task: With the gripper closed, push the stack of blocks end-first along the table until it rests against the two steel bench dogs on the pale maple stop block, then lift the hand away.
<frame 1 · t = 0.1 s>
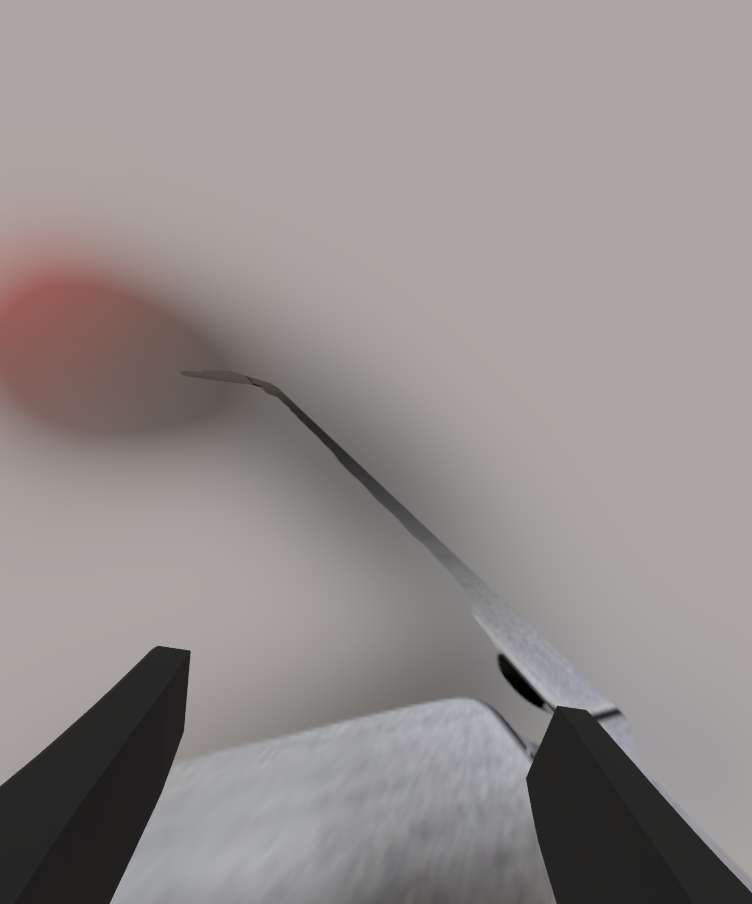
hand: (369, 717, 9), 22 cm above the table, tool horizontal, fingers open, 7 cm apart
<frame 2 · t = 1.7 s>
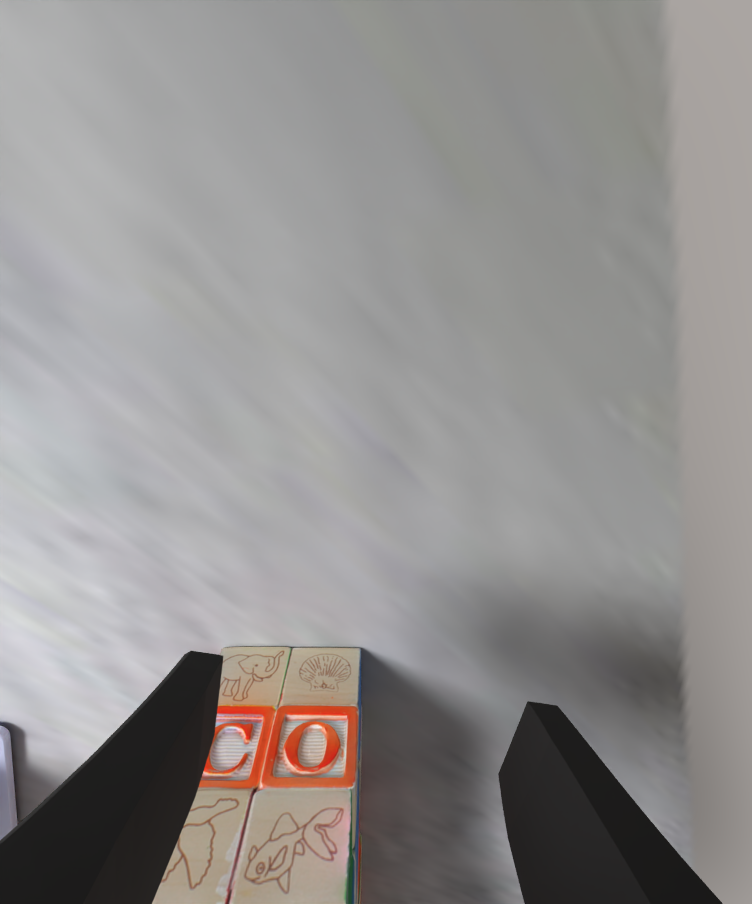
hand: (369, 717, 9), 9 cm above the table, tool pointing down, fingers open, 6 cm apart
stack of blocks: (301, 806, 24), on the table
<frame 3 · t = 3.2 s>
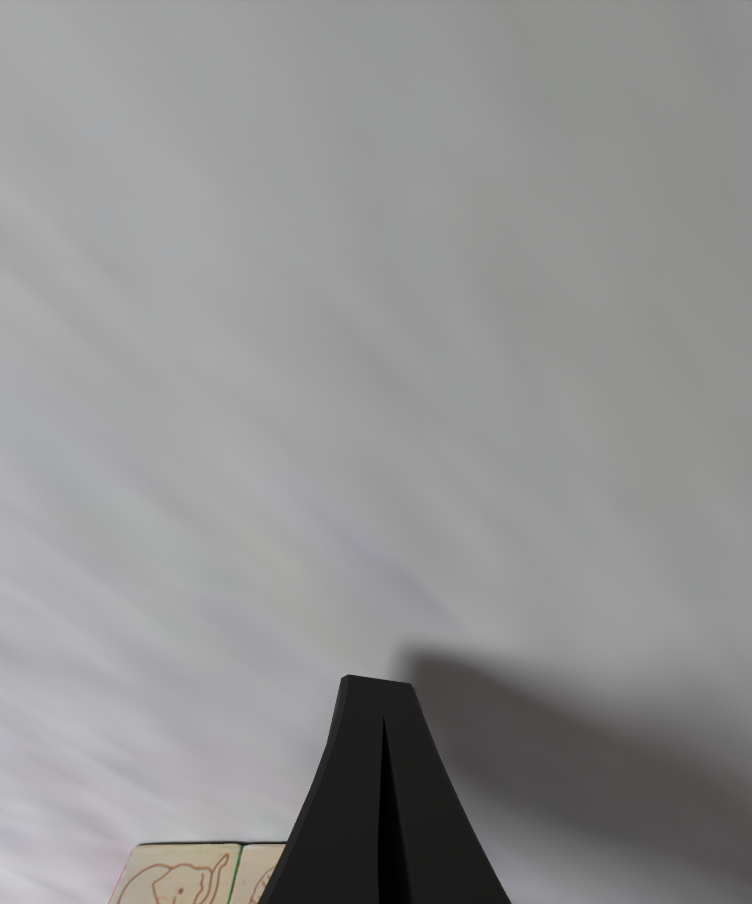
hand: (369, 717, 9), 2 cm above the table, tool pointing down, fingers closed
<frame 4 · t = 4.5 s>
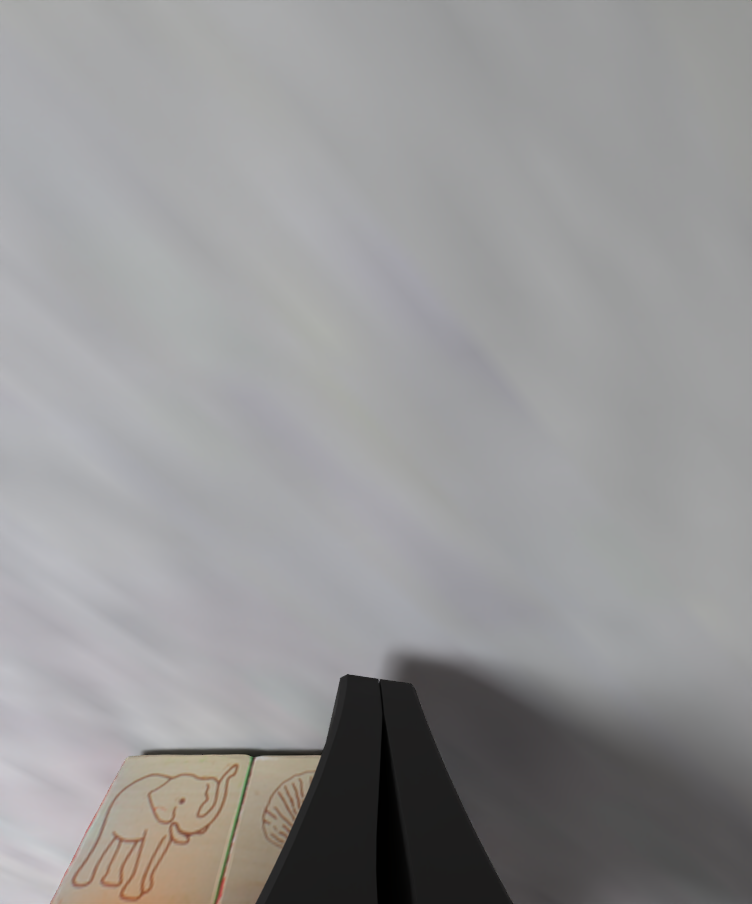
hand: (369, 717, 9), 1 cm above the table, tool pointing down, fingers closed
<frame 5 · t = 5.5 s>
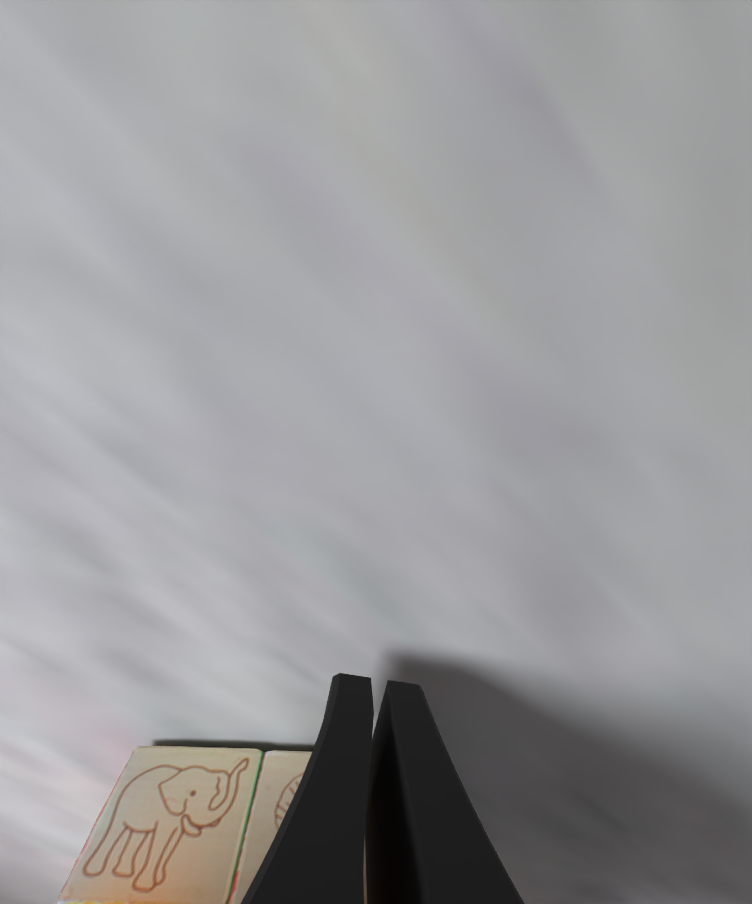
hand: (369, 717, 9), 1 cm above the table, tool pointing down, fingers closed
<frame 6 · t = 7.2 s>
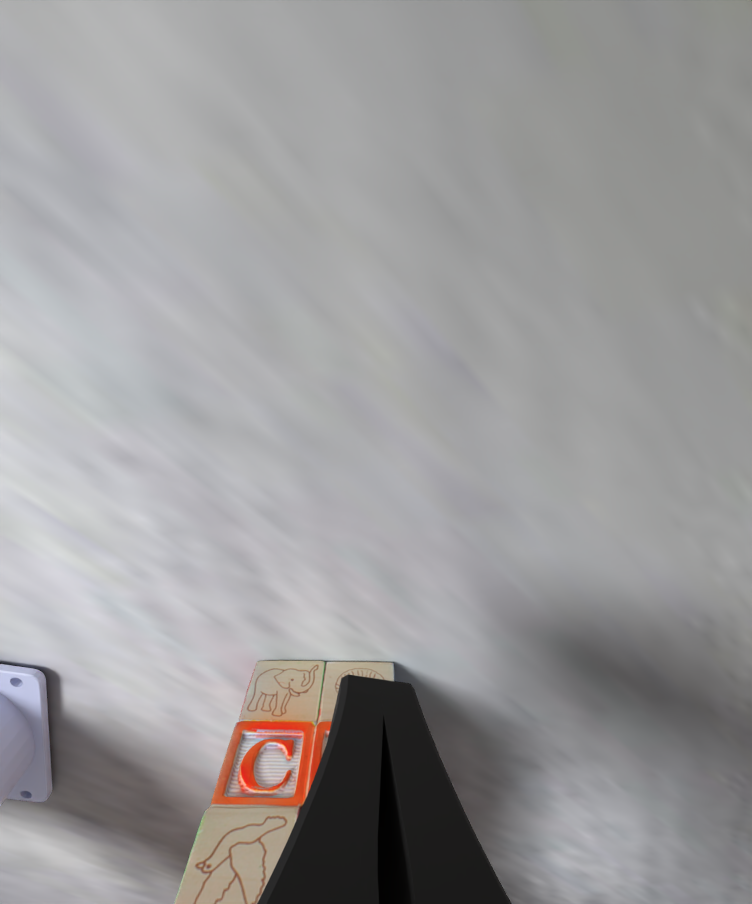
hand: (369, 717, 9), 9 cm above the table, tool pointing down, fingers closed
stack of blocks: (328, 816, 24), on the table
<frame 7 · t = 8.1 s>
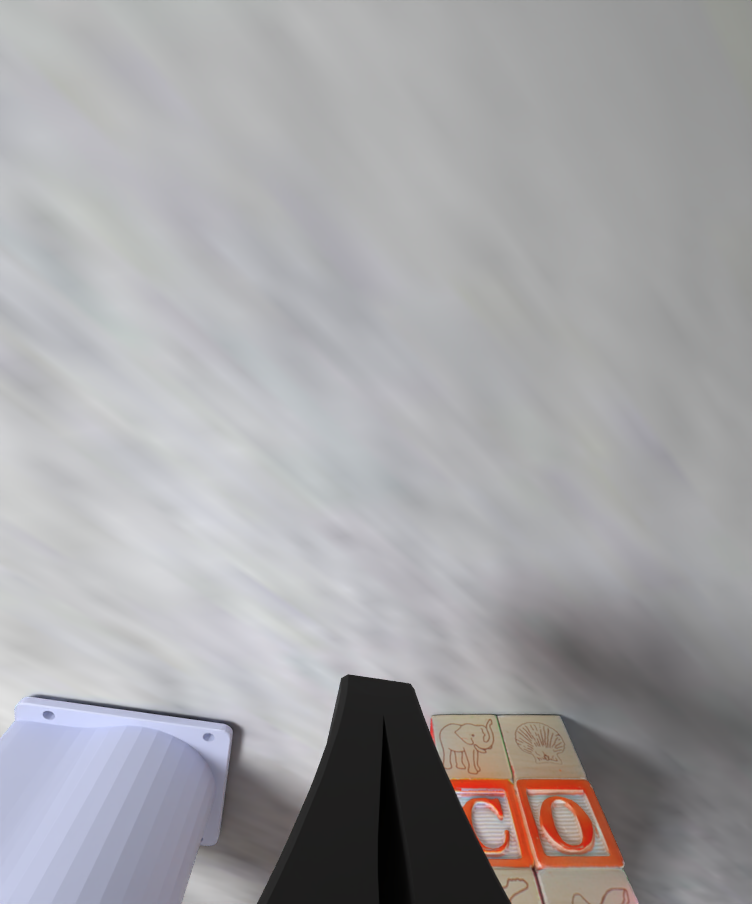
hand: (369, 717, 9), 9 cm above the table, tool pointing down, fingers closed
stack of blocks: (474, 855, 25), on the table
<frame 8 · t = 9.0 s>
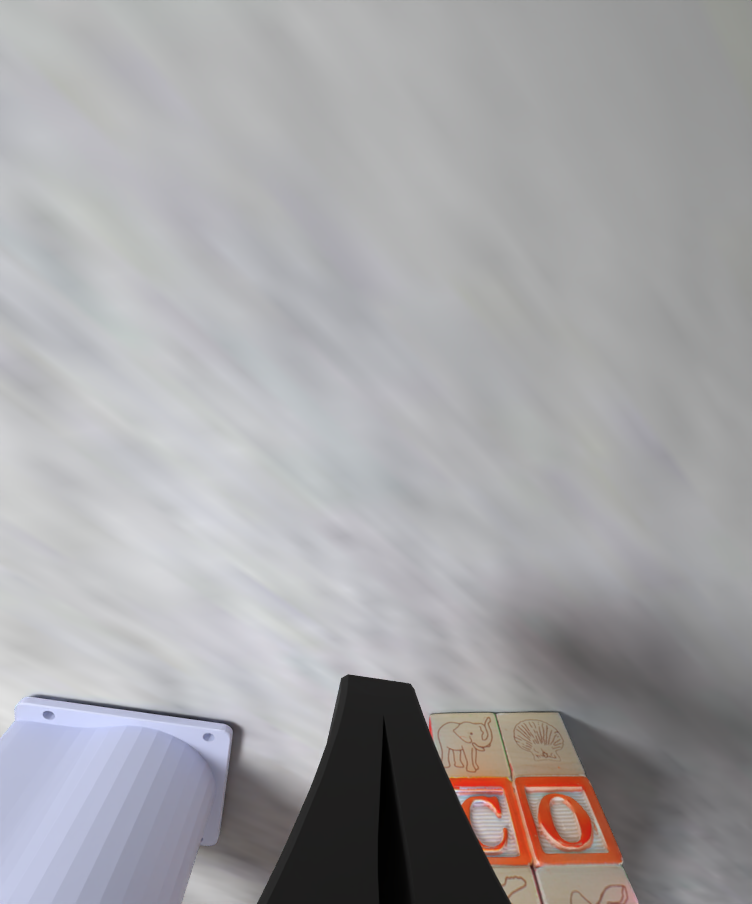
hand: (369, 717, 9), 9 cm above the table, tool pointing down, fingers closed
stack of blocks: (477, 853, 25), on the table
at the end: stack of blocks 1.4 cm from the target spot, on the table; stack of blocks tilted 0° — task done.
